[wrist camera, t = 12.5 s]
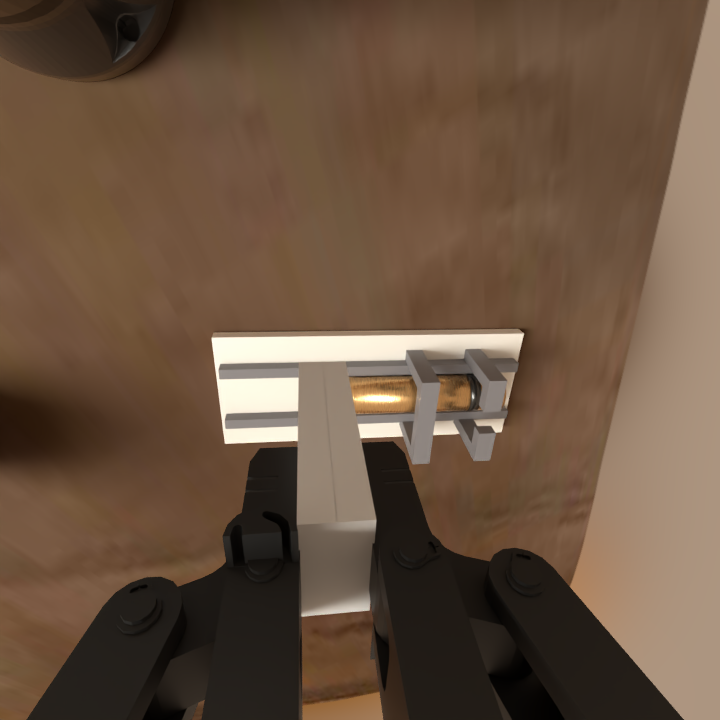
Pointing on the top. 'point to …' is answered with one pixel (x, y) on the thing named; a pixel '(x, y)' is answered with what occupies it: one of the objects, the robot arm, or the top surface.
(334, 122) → the top surface
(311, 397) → the robot arm
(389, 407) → the tube
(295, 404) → the white grey flat rack
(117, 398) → the top surface
